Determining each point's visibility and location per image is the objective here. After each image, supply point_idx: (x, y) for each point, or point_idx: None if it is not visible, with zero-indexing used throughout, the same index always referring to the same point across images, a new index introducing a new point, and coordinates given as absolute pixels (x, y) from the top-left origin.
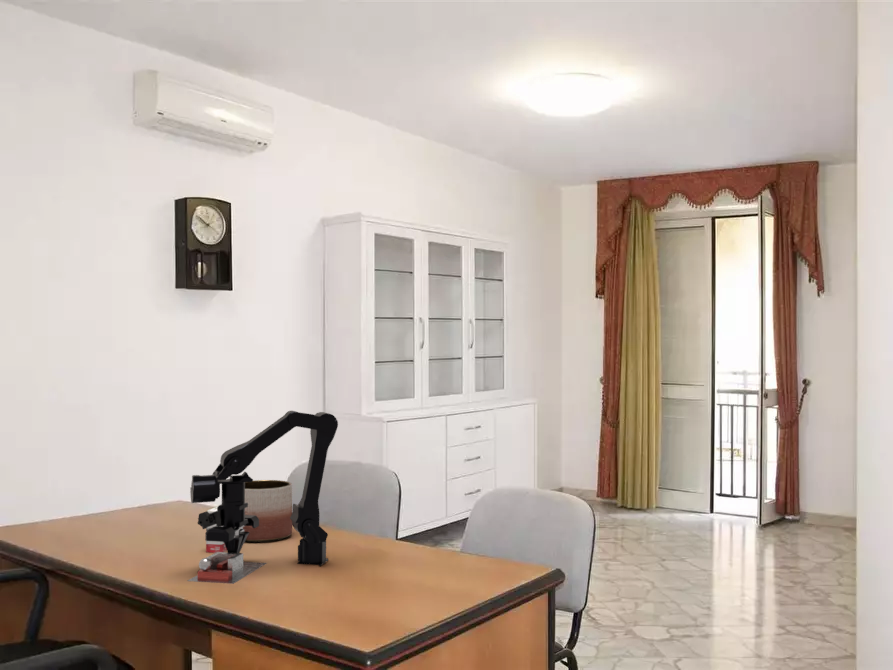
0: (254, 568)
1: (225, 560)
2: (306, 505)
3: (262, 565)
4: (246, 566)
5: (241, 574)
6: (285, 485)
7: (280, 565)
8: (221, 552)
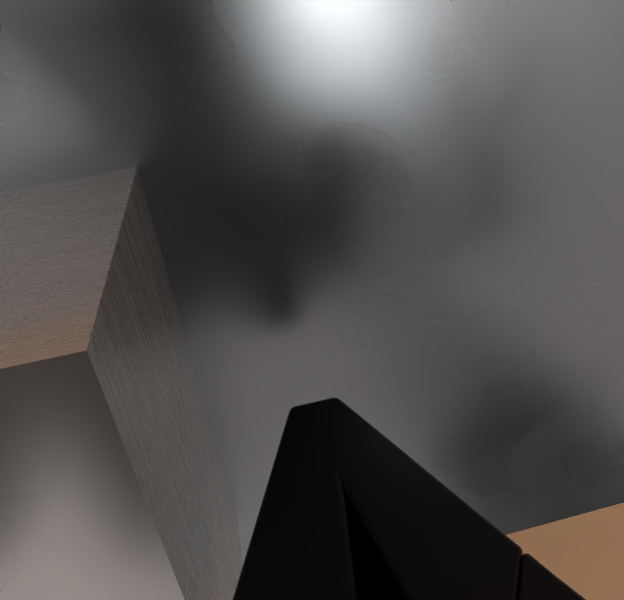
0: None
1: None
2: None
3: (537, 522)
4: (463, 418)
5: None
6: None
7: (621, 568)
8: (98, 497)
